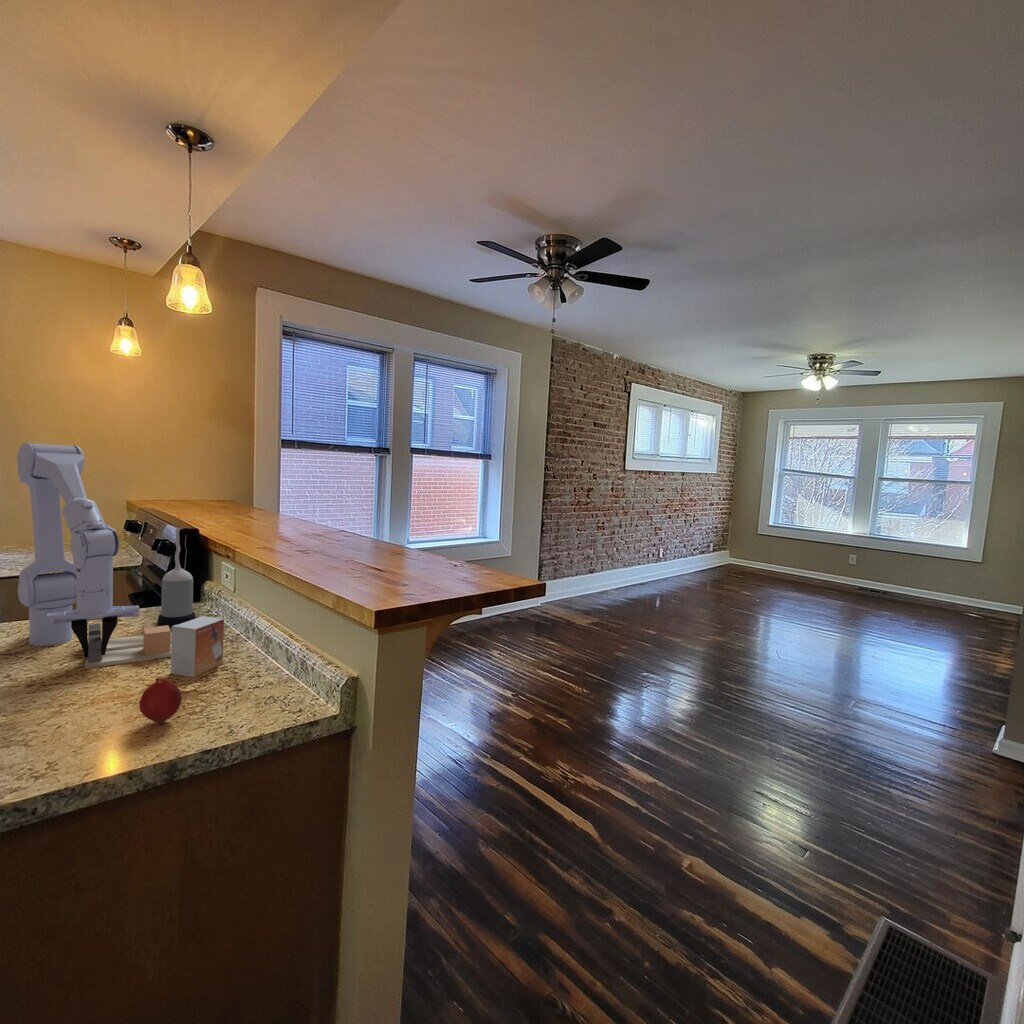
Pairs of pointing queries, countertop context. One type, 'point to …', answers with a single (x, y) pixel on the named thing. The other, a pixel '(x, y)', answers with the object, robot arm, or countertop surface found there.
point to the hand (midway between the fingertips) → (94, 654)
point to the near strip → (116, 654)
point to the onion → (160, 700)
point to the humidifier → (177, 594)
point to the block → (156, 640)
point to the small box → (197, 646)
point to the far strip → (118, 640)
